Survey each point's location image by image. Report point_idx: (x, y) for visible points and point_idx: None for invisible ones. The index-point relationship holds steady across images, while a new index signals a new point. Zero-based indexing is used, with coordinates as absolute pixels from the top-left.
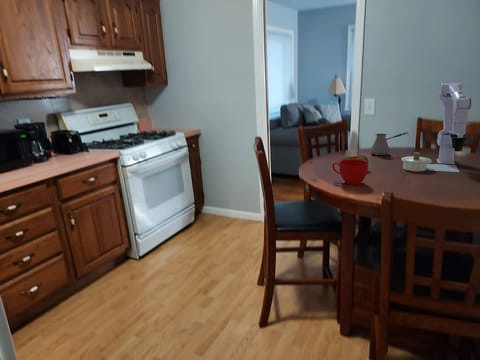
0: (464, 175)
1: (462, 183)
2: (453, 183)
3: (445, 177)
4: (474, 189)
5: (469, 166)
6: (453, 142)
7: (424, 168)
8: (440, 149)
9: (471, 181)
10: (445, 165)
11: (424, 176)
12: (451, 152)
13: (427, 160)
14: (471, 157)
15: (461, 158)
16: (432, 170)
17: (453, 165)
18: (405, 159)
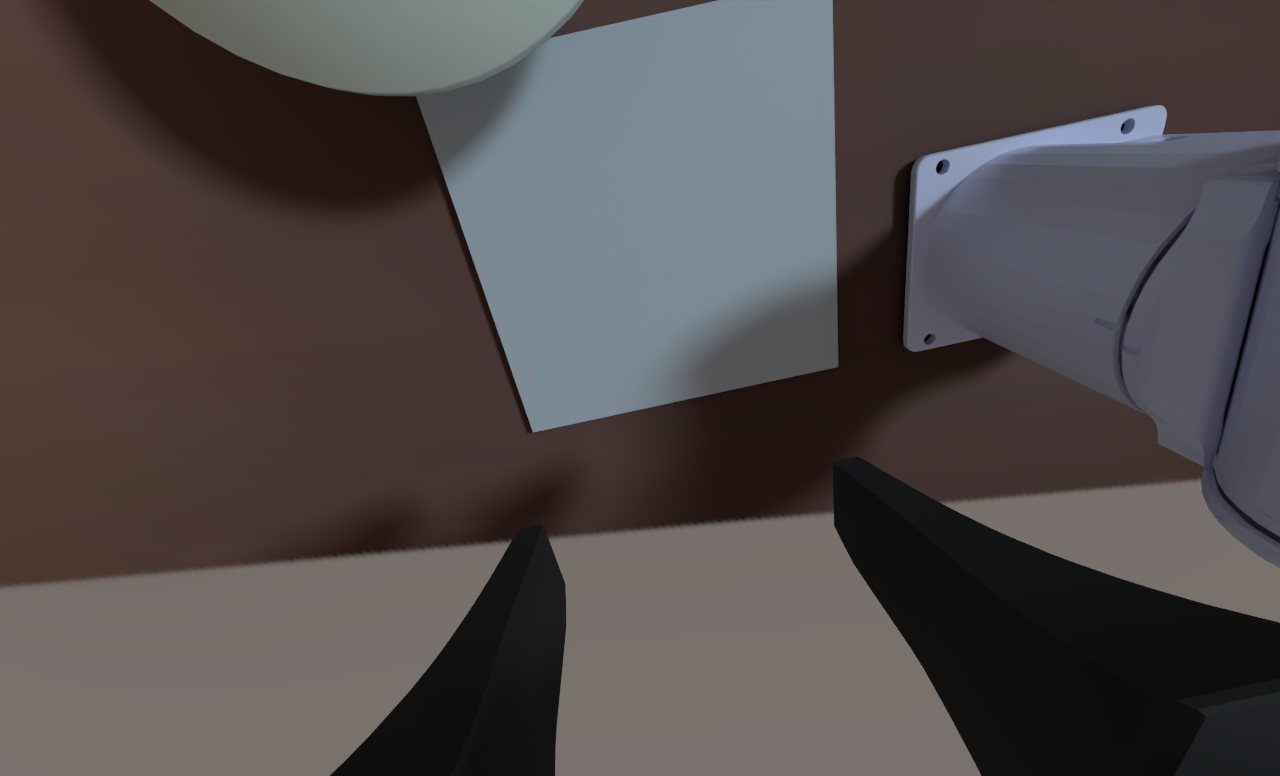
0: (451, 475)
1: (122, 493)
2: (40, 432)
3: (226, 335)
4: (9, 581)
5: None
6: (919, 554)
7: None
8: (1190, 164)
9: (264, 540)
10: (793, 267)
11: (42, 79)
12: (1046, 353)
13: (347, 4)
14: None
15: None
16: (434, 145)
17: (820, 348)
18: None
